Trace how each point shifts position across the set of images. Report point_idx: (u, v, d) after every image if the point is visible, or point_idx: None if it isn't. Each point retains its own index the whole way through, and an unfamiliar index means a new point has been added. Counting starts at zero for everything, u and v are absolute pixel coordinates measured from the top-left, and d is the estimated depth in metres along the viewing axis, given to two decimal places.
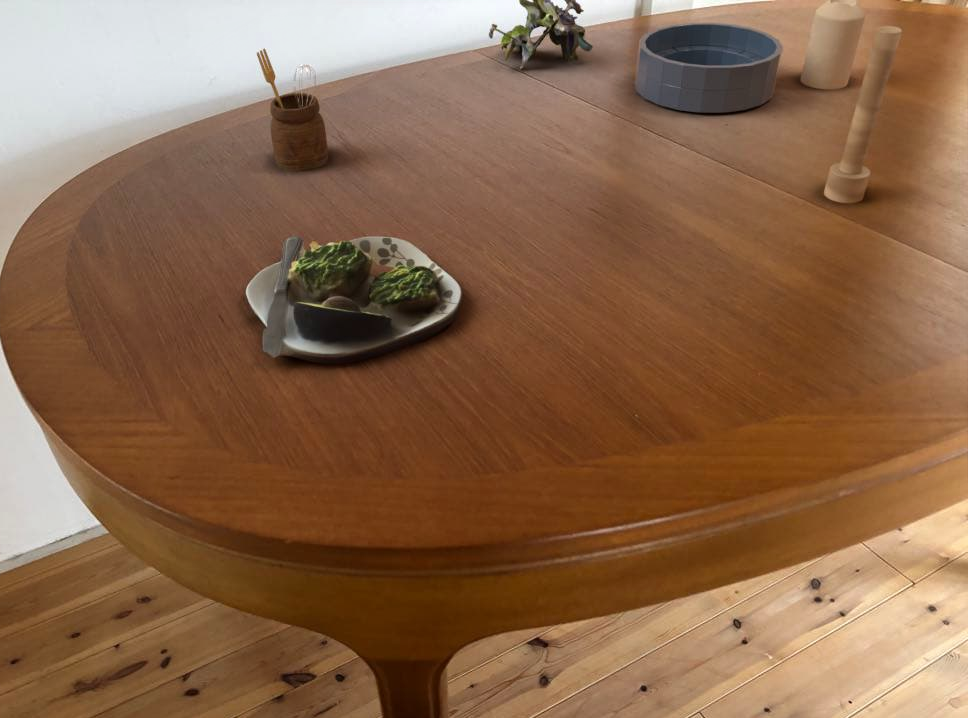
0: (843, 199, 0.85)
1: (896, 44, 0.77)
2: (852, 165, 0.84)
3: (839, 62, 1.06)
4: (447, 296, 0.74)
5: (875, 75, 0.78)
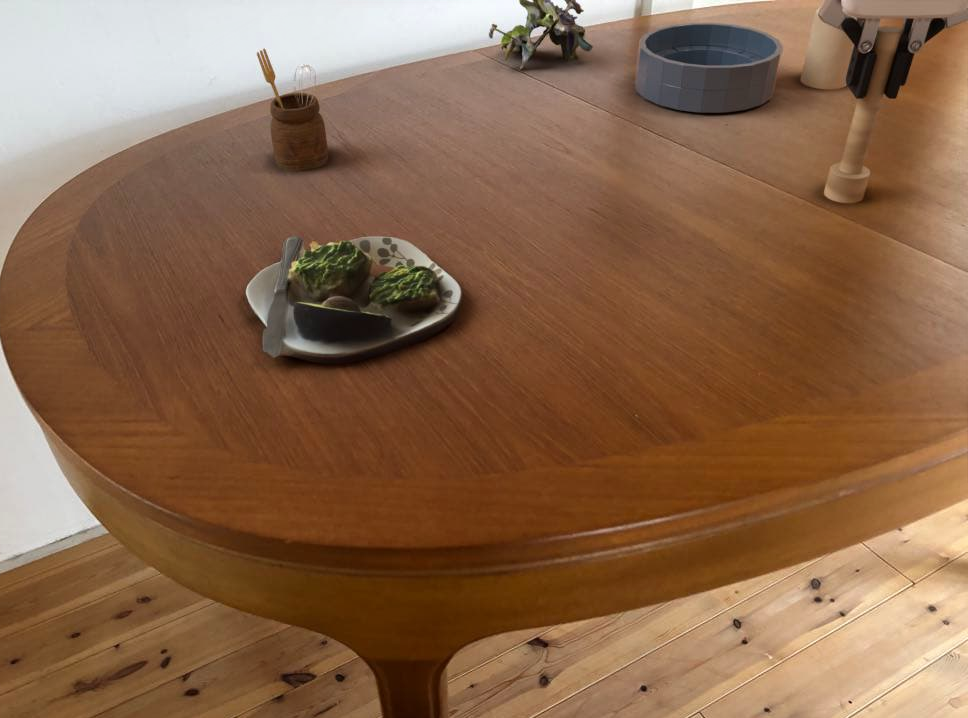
0: (843, 199, 0.85)
1: (896, 44, 0.77)
2: (852, 165, 0.84)
3: (839, 62, 1.06)
4: (447, 296, 0.74)
5: (875, 75, 0.78)
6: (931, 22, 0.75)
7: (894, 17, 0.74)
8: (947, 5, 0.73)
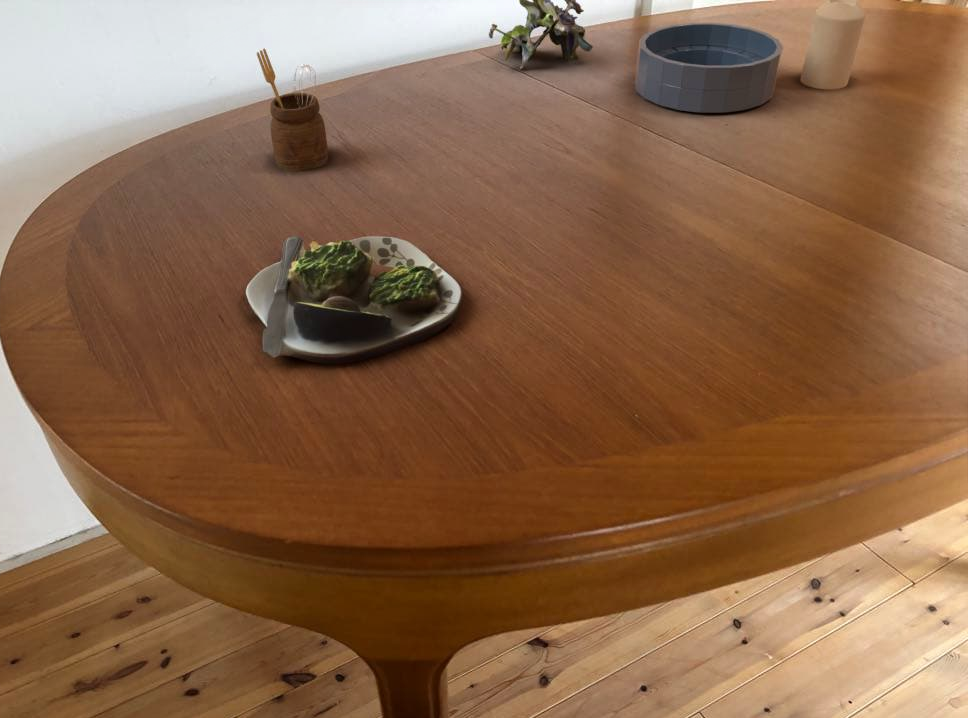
0: None
1: None
2: None
3: (839, 62, 1.06)
4: (447, 296, 0.74)
5: None
6: None
7: None
8: None
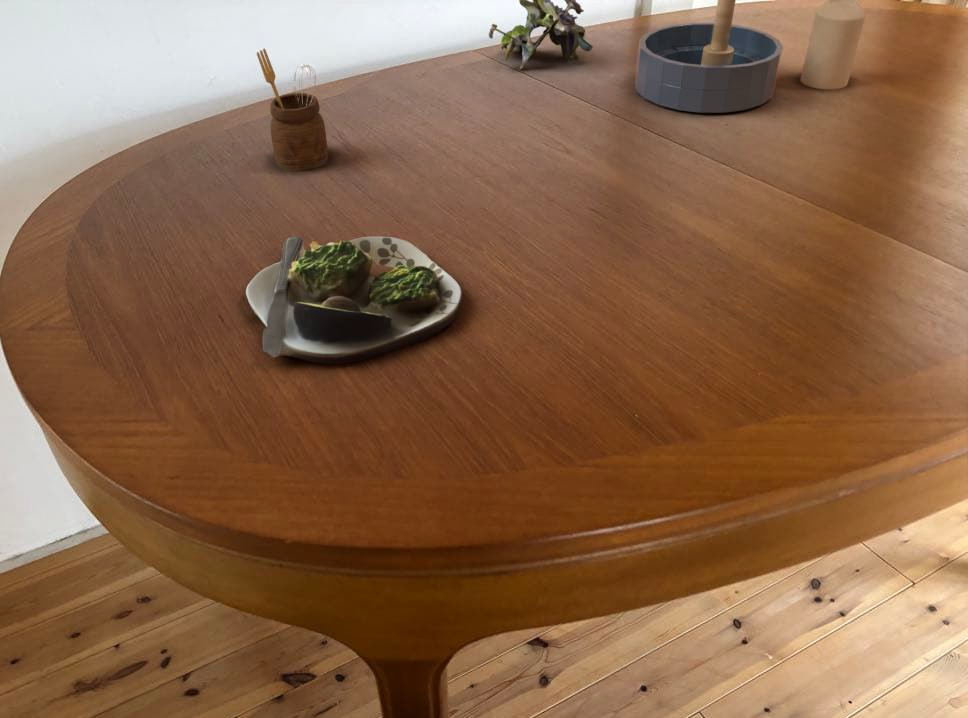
0: None
1: None
2: (718, 43, 1.06)
3: (839, 62, 1.06)
4: (447, 296, 0.74)
5: None
6: None
7: None
8: None
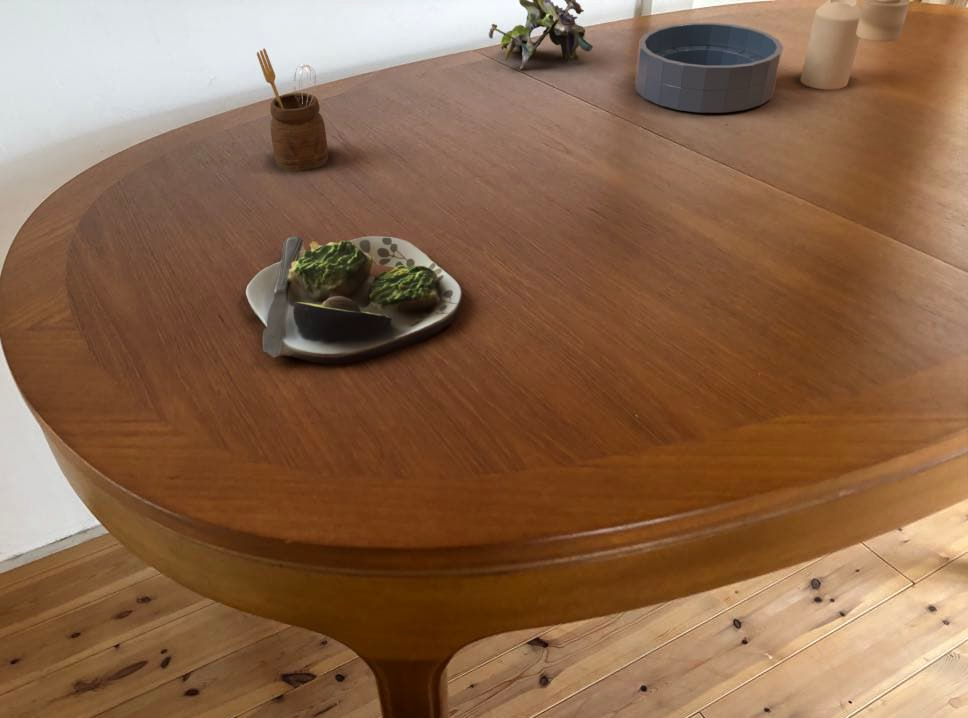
0: (879, 32, 0.77)
1: None
2: None
3: (839, 62, 1.06)
4: (447, 296, 0.74)
5: None
6: None
7: None
8: None
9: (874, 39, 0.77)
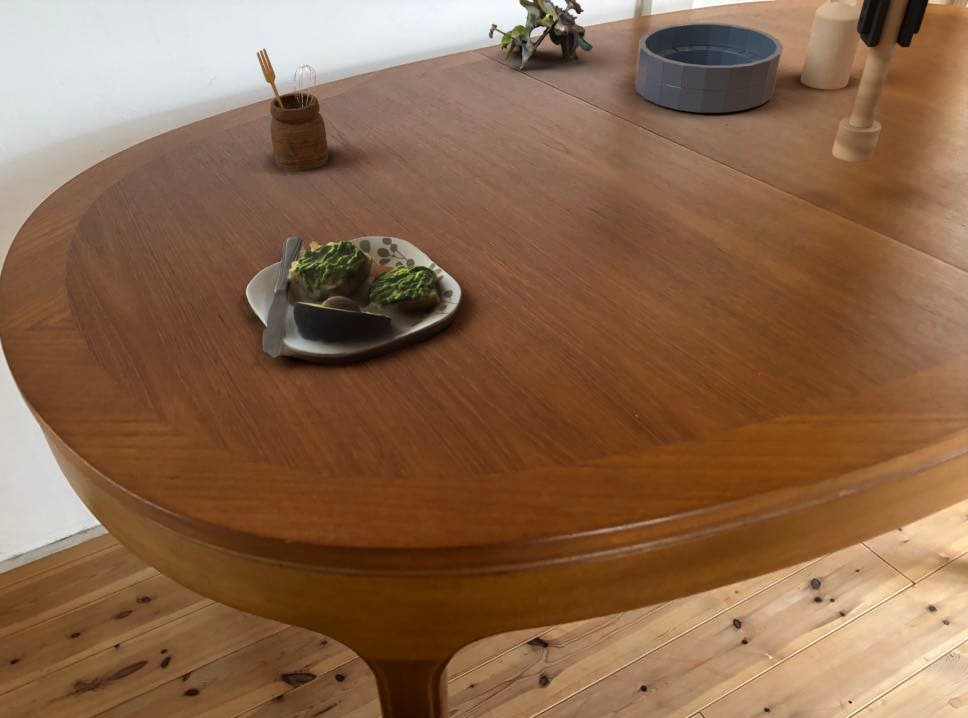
0: (853, 154, 0.82)
1: None
2: (862, 119, 0.81)
3: (839, 62, 1.06)
4: (447, 296, 0.74)
5: (888, 21, 0.76)
6: None
7: None
8: None
9: (848, 160, 0.83)
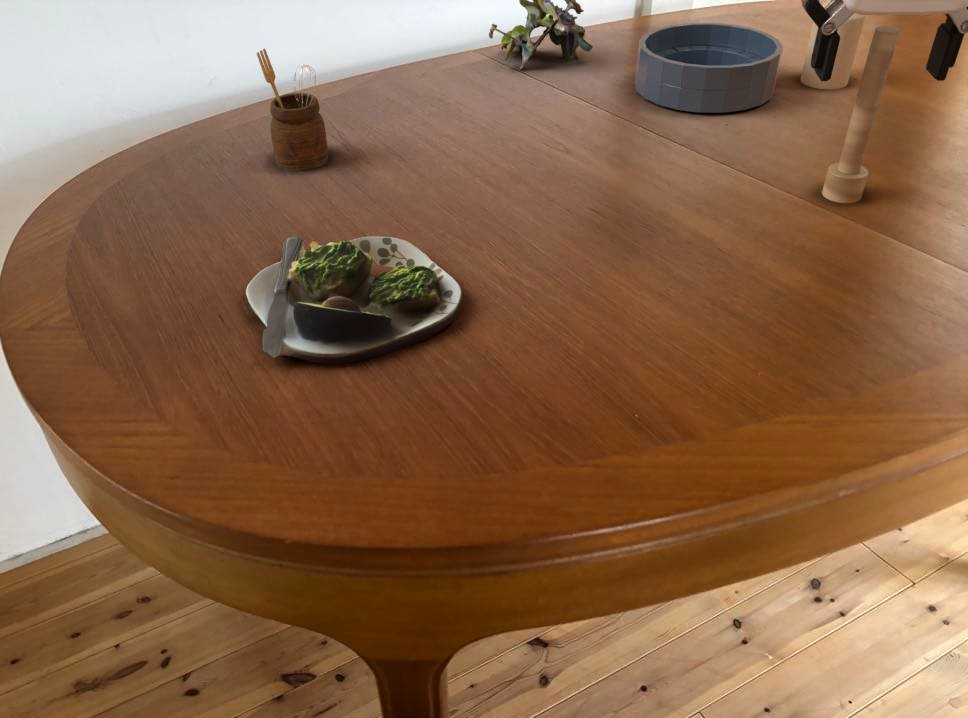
0: (841, 199, 0.85)
1: (894, 44, 0.77)
2: (850, 165, 0.84)
3: (839, 62, 1.06)
4: (447, 296, 0.74)
5: (873, 75, 0.78)
6: None
7: (896, 13, 0.74)
8: (949, 2, 0.72)
9: None
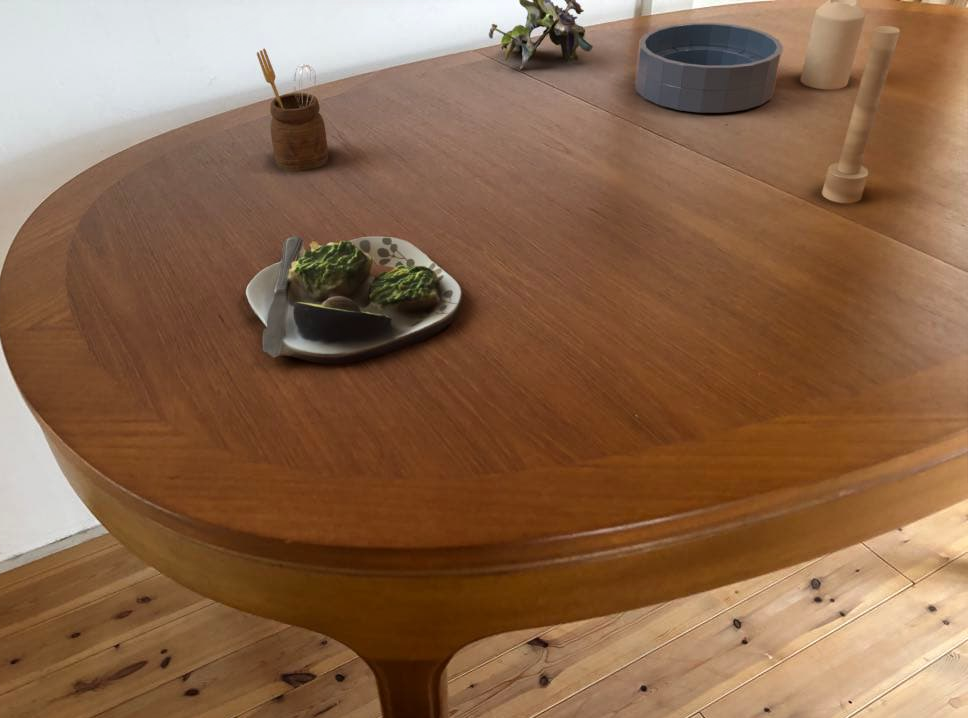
0: (841, 199, 0.85)
1: (894, 44, 0.77)
2: (850, 165, 0.84)
3: (839, 62, 1.06)
4: (447, 296, 0.74)
5: (873, 75, 0.78)
6: None
7: None
8: None
9: None
